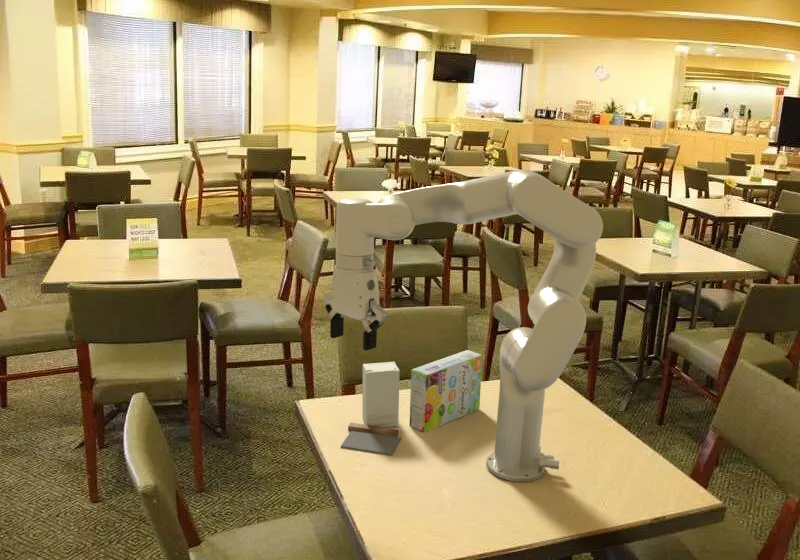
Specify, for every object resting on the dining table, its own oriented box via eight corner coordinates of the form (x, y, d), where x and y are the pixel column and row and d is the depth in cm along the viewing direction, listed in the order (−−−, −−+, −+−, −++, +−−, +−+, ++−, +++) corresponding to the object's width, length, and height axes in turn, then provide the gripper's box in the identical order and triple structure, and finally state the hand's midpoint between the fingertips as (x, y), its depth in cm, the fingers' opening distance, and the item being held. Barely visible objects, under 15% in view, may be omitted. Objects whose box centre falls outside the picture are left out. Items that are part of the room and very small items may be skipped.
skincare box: (393, 416, 186) (396, 360, 182) (398, 427, 181) (401, 369, 177) (360, 418, 184) (362, 362, 181) (364, 429, 179) (366, 371, 175)
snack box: (463, 402, 196) (467, 348, 193) (480, 409, 193) (484, 354, 189) (407, 426, 182) (410, 368, 178) (424, 434, 178) (427, 374, 174)
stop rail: (399, 434, 177) (399, 429, 177) (397, 438, 175) (397, 433, 175) (350, 427, 180) (350, 422, 179) (348, 430, 178) (348, 425, 177)
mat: (401, 438, 175) (401, 437, 175) (392, 455, 167) (392, 453, 167) (351, 431, 177) (351, 429, 177) (340, 447, 169) (340, 445, 169)
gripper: (399, 266, 146) (396, 349, 150) (339, 251, 157) (337, 328, 162) (372, 272, 141) (369, 358, 145) (311, 256, 152) (311, 336, 156)
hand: (352, 342), depth 153 cm, fingers open, 9 cm apart
